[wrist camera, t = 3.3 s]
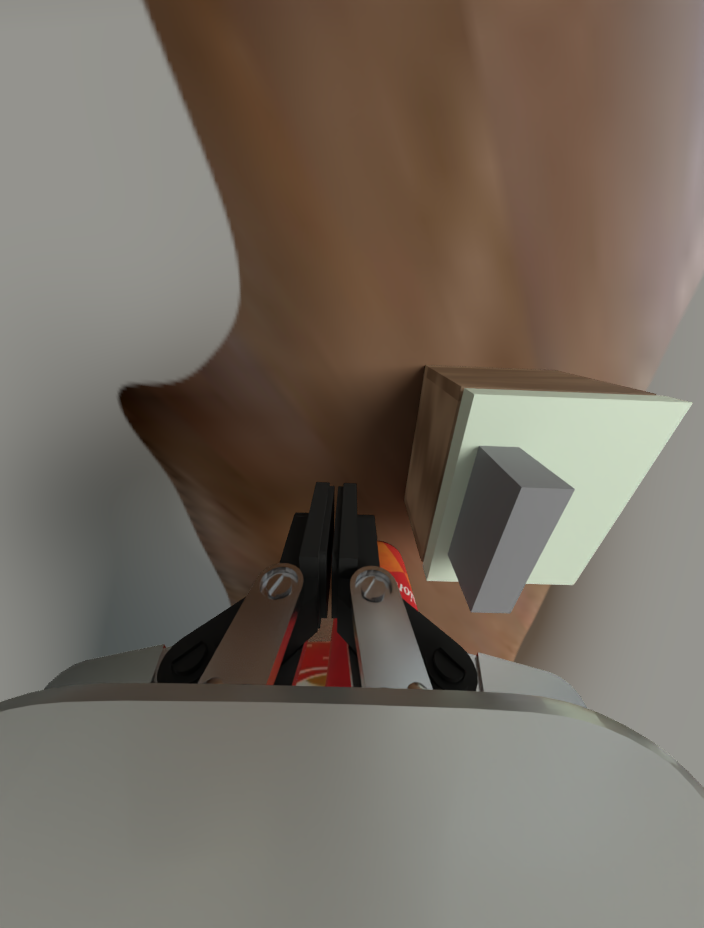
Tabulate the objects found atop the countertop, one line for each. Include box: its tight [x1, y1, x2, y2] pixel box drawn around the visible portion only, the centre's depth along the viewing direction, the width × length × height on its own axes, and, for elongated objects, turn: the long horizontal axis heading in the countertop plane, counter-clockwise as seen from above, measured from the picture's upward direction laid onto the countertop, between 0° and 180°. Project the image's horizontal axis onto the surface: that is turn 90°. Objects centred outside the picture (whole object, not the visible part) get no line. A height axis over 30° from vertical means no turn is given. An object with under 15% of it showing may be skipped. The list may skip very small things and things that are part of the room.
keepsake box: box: [404, 365, 656, 562], centre depth 16 cm, size 10×8×6 cm
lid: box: [423, 388, 692, 613], centre depth 11 cm, size 10×8×4 cm
